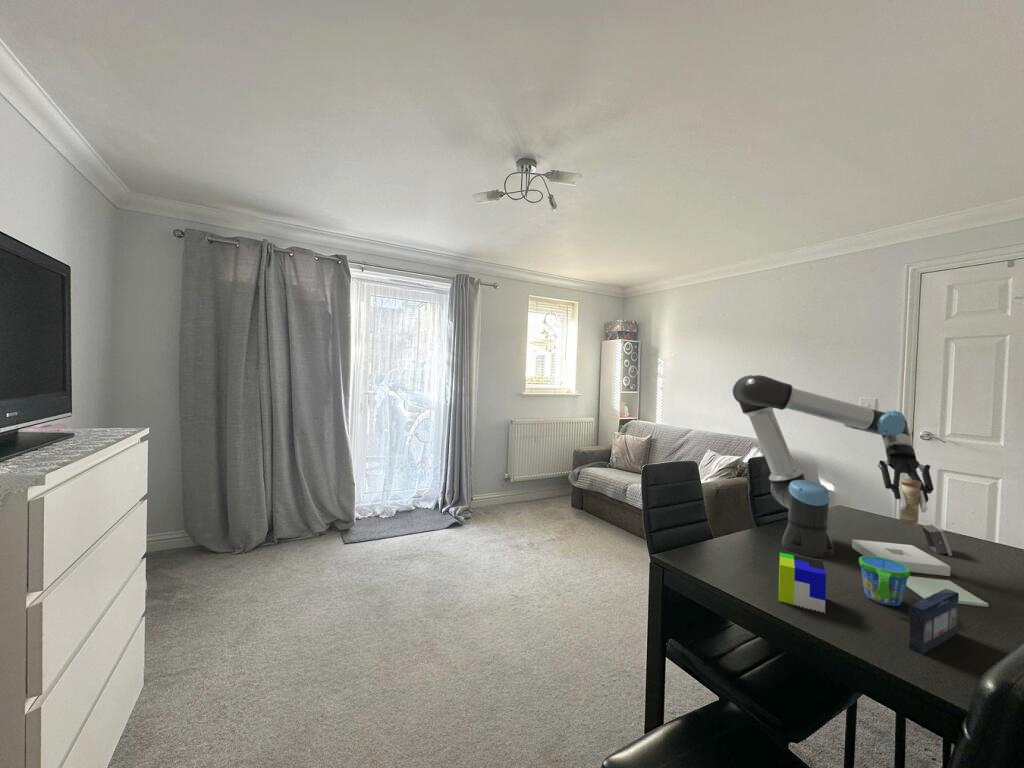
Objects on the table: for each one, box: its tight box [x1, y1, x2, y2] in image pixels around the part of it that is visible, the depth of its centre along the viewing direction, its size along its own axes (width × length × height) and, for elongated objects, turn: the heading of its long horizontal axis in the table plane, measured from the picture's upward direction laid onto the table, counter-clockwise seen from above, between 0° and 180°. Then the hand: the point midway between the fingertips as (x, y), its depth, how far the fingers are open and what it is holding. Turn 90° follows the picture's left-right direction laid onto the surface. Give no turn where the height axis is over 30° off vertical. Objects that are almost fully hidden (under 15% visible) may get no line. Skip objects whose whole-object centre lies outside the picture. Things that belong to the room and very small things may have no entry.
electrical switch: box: [921, 522, 953, 557], centre depth 153 cm, size 9×5×9 cm, turn 152°
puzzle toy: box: [778, 552, 827, 614], centre depth 116 cm, size 10×10×10 cm
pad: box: [906, 575, 989, 608], centre depth 122 cm, size 14×14×1 cm
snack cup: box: [858, 555, 911, 607], centre depth 116 cm, size 16×10×10 cm
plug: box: [899, 478, 921, 526], centre depth 140 cm, size 5×5×14 cm
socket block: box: [851, 539, 951, 577], centre depth 143 cm, size 18×18×3 cm
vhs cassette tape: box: [907, 589, 959, 655], centre depth 98 cm, size 18×3×10 cm, turn 115°
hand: (914, 509), depth 137 cm, fingers closed on plug, 4 cm apart
